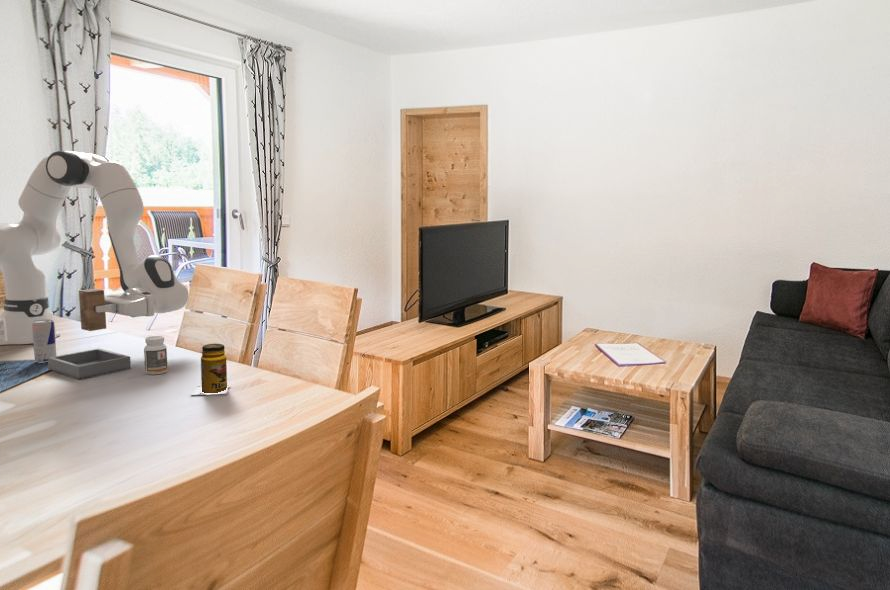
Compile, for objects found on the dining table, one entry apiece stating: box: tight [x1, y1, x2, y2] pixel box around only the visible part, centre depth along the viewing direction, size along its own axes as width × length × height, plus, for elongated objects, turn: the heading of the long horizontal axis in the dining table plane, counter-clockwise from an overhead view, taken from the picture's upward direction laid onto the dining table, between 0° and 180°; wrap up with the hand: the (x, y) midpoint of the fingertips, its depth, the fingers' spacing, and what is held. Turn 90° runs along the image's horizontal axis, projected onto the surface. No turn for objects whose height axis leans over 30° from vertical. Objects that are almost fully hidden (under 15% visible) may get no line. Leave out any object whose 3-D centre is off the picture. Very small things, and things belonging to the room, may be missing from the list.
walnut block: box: [78, 288, 107, 332], centre depth 168 cm, size 4×4×11 cm
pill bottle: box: [143, 335, 169, 376], centre depth 165 cm, size 6×6×10 cm
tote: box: [47, 347, 132, 381], centre depth 167 cm, size 16×14×4 cm
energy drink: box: [32, 320, 57, 364], centre depth 173 cm, size 5×5×12 cm
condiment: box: [198, 343, 228, 393], centre depth 150 cm, size 7×8×12 cm
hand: (89, 308), depth 167 cm, fingers closed on walnut block, 4 cm apart
